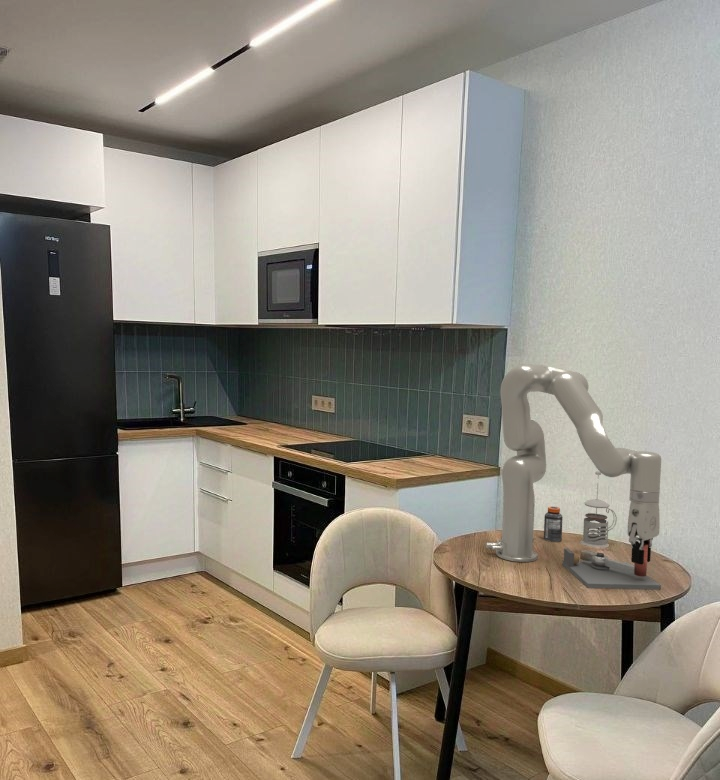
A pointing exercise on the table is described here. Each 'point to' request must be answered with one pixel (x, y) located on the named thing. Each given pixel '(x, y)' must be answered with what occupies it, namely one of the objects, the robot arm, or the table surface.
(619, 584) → the base
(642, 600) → the table surface
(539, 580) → the table surface
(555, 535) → the pill bottle
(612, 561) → the lever
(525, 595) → the table surface
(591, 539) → the french press
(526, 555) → the robot arm
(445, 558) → the table surface
